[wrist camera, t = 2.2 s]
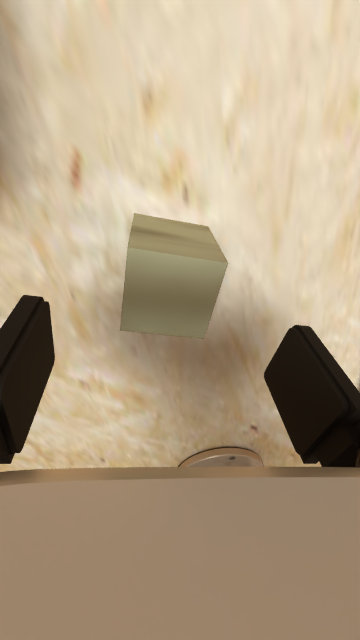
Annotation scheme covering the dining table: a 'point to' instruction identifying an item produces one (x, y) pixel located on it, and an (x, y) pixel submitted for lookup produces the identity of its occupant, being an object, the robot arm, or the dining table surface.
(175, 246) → the sage block
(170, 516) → the robot arm
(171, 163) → the dining table surface
